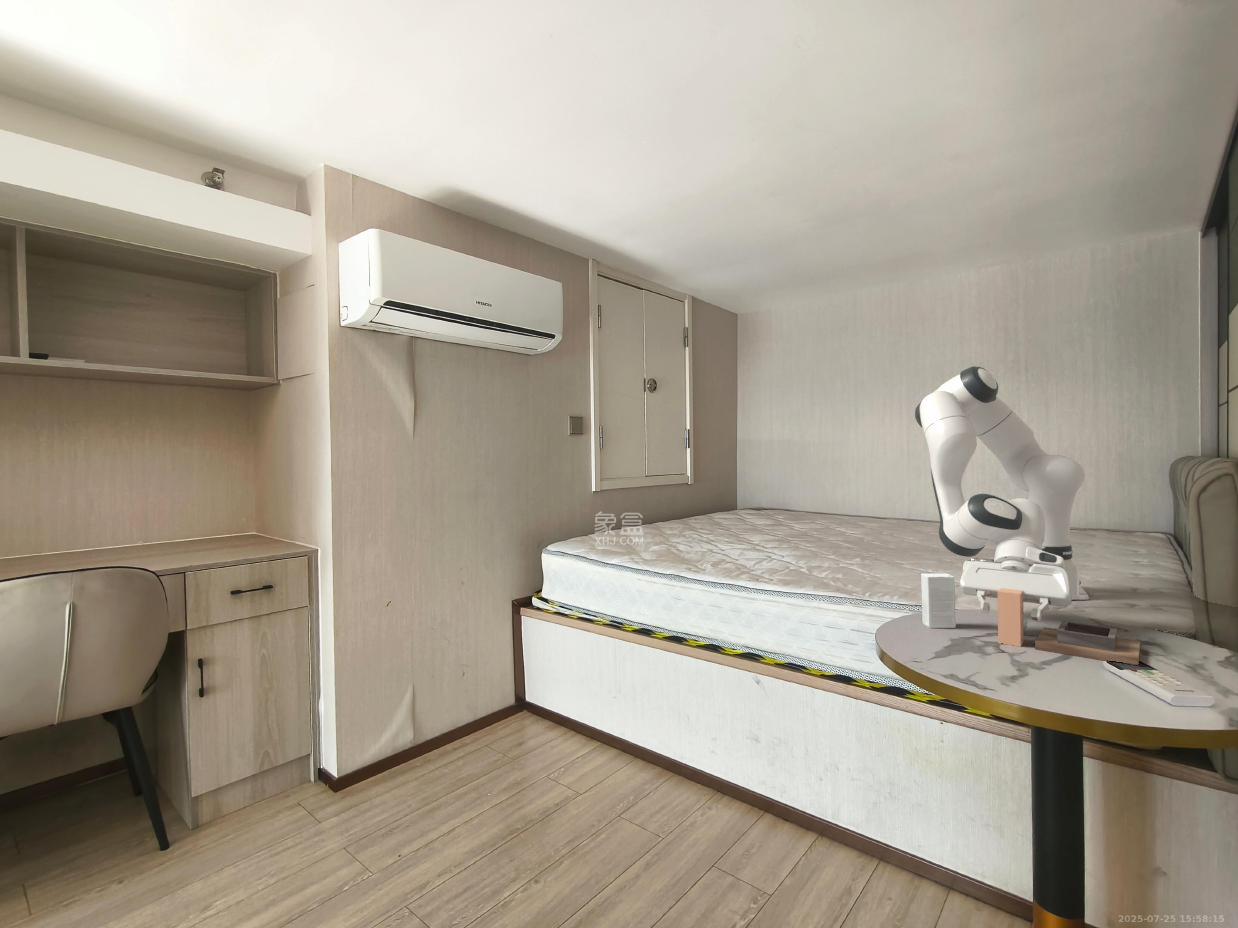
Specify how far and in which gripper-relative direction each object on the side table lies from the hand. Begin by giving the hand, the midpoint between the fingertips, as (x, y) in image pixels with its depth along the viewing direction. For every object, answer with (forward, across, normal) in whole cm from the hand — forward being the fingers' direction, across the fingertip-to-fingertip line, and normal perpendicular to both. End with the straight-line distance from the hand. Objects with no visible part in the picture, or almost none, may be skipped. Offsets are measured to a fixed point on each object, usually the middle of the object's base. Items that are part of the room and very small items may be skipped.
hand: (1009, 615), depth 127 cm
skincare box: (+1, -15, +8) cm, 17 cm away
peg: (+4, 0, +5) cm, 6 cm away
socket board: (+1, +13, +8) cm, 15 cm away
